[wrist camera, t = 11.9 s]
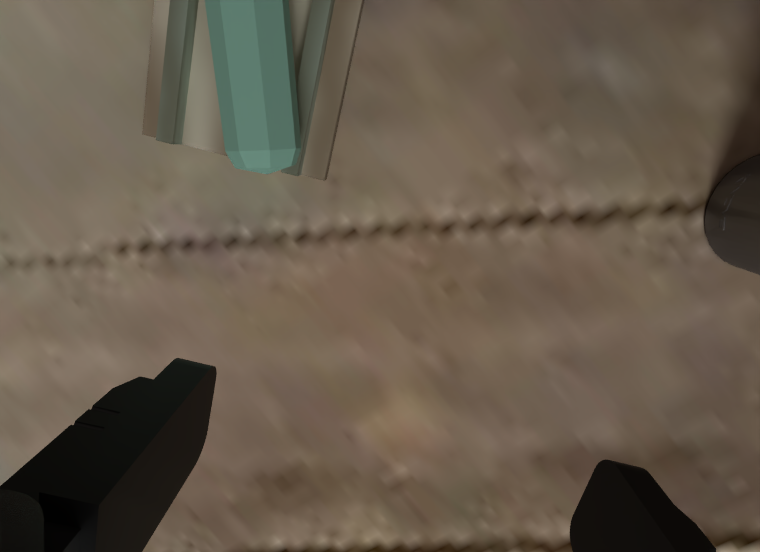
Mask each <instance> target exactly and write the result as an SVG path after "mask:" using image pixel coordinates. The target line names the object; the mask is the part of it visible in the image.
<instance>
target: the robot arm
mask: <svg viewBox="0 0 760 552" xmlns="http://www.w3.org/2000/svg"><path fill="white" fill-rule="evenodd" d="M705 233H706V236H707V239H708V242H709V245H710V246H711V248H712V249H713V251H714V252H715V254H717V255H718V256H719V257H720V258H721V259H722V260H723V261H725V262H727V263H729V264H731V265H733V266H736V267H739V268H742V269H744V270H747V271H750V272H753V273H756V274H759V275H760V155H758V156H755V157H752V158H750V159H748V160H746V161H744V162H743V163H741V164H739V165H738V166H736V167H735V168H734V169H733V170H732V171H730V172H729V173H728V174H727V175H726V176H725V177H724V178H723V180H722V181H721V182H720V183H719V184H718V186H717V187H716V189H715V191H714V192H713V194H712V196H711V198H710V200H709V203H708V206H707V209H706V215H705ZM215 381H216V368H215V367H214V366H210V365H206V364H202V363H197V362H193V361H189V360H185V359H180V358H176V359H174V360H173V361H172V362H171V363H170V364H169V365H168V366H167V367H166V368H165V369H164V370H163V371H162V372H161V373H160V374H159V375H158V376H157V377H156V378H155V379H154V380H153V379H149V378H145V377H138V378H136V379H133V380H131V381H129V382H126V383H124V384H122V385H119V386H117V387H115V388H113V389H111V390H110V391H109V392H108V393H107V394H106V395H104V396H103V397H102V398H101V399H100V400H99V401H98V402H96V403H95V404H94V405H93V407H92V409H91V410H89V409H88V410H87V411H86V412H85V413H84V414H83V415H81V416H80V417H79V418H78V419H77V420H76V421H75V423H74V425H70V426H69V427H68V428H67V429H65V430H64V431H63V432H62V433H61V434H60V435H59V436H57V437H56V438H55V439H54V440H53V441H52V442H50V443H49V444H48V445H47V446H46V447H45V448H44V449H42V450H41V451H40V452H39V453H38V454H37V455H36V456H34V457H33V458H32V459H31V460H30V461H29V462H27V463H26V464H25V465H24V466H23V467H22V468H21V469H19V470H18V471H17V472H16V473H15V474H14V475H13V476H11V477H10V478H9V479H8V480H7V481H6V482H4V483H3V484H2V485H1V486H0V552H142V551H143V549H144V548H145V546H146V544H147V543H148V541H149V539H150V538H151V536H152V535H153V533H154V531H155V530H156V528H157V526H158V525H159V523H160V522H161V520H162V518H163V517H164V515H165V513H166V512H167V510H168V509H169V507H170V505H171V504H172V502H173V500H174V499H175V497H176V496H177V494H178V492H179V491H180V489H181V487H182V486H183V484H184V483H185V481H186V479H187V478H188V476H189V474H190V473H191V471H192V470H193V468H194V466H195V465H196V463H197V461H198V459H199V456H200V454H201V451H202V449H203V446H204V443H205V439H206V435H207V431H208V425H209V418H210V412H211V406H212V400H213V394H214V388H215ZM570 541H571V546H572V550H573V552H716V548H715V547H714V546H713V545H712V543H711V542H710V541H709V540H708V538H707V537H706V536H705V535H704V533H703V532H702V531H701V530H700V528H699V527H698V526H697V525H696V524H695V523H694V522H693V521H692V520H691V519H690V518H689V517H687V516H686V515H685V514H684V513H683V512H682V511H681V510H679V509H678V508H677V507H676V506H675V505H674V504H673V503H672V501H671V500H670V499H669V498H668V496H667V495H666V494H665V492H664V491H663V490H662V489H661V487H660V486H659V485H658V484H657V482H656V481H655V480H654V478H653V477H652V476H651V475H650V473H649V472H648V471H646V470H645V469H643V468H641V467H636V466H632V465H628V464H624V463H619V462H615V461H611V460H602V461H601V462H599V463H598V465H597V466H596V468H595V469H594V472H593V474H592V476H591V478H590V480H589V482H588V484H587V487H586V489H585V491H584V493H583V495H582V497H581V499H580V502H579V504H578V506H577V508H576V510H575V512H574V514H573V517H572V520H571V525H570Z"/></svg>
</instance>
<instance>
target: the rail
mask: <svg viewBox="0 0 760 552" xmlns="http://www.w3.org/2000/svg"><path fill="white" fill-rule="evenodd" d="M363 4H364V0H289V11H290V23H291V34H292V46H293V57H294V69H295V80H296V92H297V103H298V115H299V126H300V138H301V151H300V154H299V157H298V160H297V163H296V165H293V166H290V167H287V168H284V169H281V172H283V173H287V174H291V175H295V176H299V175H304V176H308V177H312V178H316V179H319V180H323V181H325V180H326V179H327V174H328V170H329V165H330V160H331V155H332V151H333V146H334V141H335V137H336V132H337V127H338V122H339V118H340V113H341V108H342V103H343V99H344V94H345V89H346V84H347V80H348V75H349V70H350V66H351V61H352V56H353V51H354V47H355V42H356V37H357V32H358V28H359V23H360V18H361V13H362V9H363ZM142 134H143V135H147V136H151V137H155V138H156V140H158V141H162V142H165V143H169V144H182V145H186V146H190V147H194V148H198V149H202V150H206V151H210V152H214V153H218V154H222V155H225V156H228V155H227V153H226V152H225V146H224V138H223V131H222V124H221V116H220V109H219V102H218V94H217V87H216V80H215V72H214V65H213V58H212V50H211V43H210V35H209V28H208V21H207V13H206V6H205V0H155V1H154V12H153V23H152V34H151V45H150V55H149V66H148V77H147V88H146V99H145V110H144V120H143V131H142Z"/></svg>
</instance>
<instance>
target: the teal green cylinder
mask: <svg viewBox="0 0 760 552" xmlns="http://www.w3.org/2000/svg"><path fill="white" fill-rule="evenodd" d="M205 6H206V13H207V21H208V28H209V35H210V43H211V50H212V58H213V65H214V72H215V80H216V87H217V94H218V102H219V109H220V116H221V124H222V131H223V138H224V146H225V152H226V153H227V155H228V157H229V158H230V160H231V162H232V163H233V165H234V167H235V168H237V169H243V170H248V171H253V172H258V173H263V174H269V173H272V172H275V171H278V170H281V169H284V168H287V167H290V166H293V165H296V163H297V160H298V157H299V154H300V151H301V138H300V126H299V115H298V103H297V92H296V80H295V69H294V57H293V46H292V34H291V23H290V11H289V0H205Z"/></svg>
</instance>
